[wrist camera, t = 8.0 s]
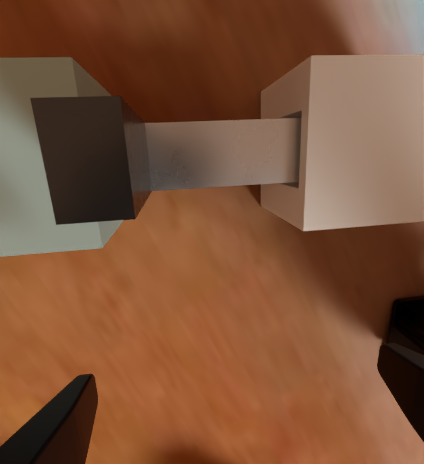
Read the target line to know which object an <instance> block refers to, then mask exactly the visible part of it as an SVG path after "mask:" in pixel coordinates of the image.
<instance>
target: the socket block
mask: <svg viewBox="0 0 424 464" xmlns="http://www.w3.org/2000/svg"><path fill="white" fill-rule="evenodd" d="M89 96H111V94H110V93H109V92H108V91H106V90H105V89H104V88H103V87H102V86H101V85H100V84H99V83H98V82H97V81H96V80H95V79H94V78H93V77H92V76H91V75H90V74H89V73H88V72H87V71H86V70H84V69H83V68H82V67H81V66H80V65H79V64H78V63H77V62H76V61H75V60H74V59H73V58H72V57H19V58H0V257H2V256H14V255H26V254H38V253H50V252H62V251H74V250H86V249H98V248H103V247H104V245H105V244H106V243H107V241H108V240H109V239H110V238H111V236H112V235H113V234H114V232H115V231H116V230H117V228H118V227H119V226H120V224H121V223H122V222H123V220H116V221H102V222H88V223H75V224H61V225H56V222H55V217H54V212H53V207H52V202H51V197H50V192H49V188H48V183H47V178H46V173H45V168H44V163H43V158H42V153H41V149H40V144H39V139H38V134H37V129H36V124H35V119H34V114H33V110H32V105H31V100H30V98H46V97H89Z"/></svg>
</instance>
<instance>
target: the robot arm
mask: <svg viewBox="0 0 424 464" xmlns="http://www.w3.org/2000/svg"><path fill="white" fill-rule="evenodd" d="M377 367H378V371H379V373H380V375H381V377H382V379H383V380H384V382H385V383H386V385H387V387H388V388H389V390H390V392H391V393H392V395H393V397H394V398H395V400H396V401H397V403H398V405H399V406H400V408H401V410H402V411H403V413H404V414H405V416H406V418H407V419H408V421H409V422H410V424H411V425H412V426H413V428H414V429H415V431H416V432H417V434H418V435H419V436H420V438H421V439H422V440H423V442H424V296H422V297H413V298H405V299H398V300H396V301H395V302H394V303H393V308H392V315H391V321H390V328H389V335H388V342H387V344H382V345H381V346H380V350H379V356H378V363H377ZM97 405H98V394H97V388H96V382H95V377H94V375H93V374H84V375H79V376H77V377H76V378H75V379H74V380H73V381H71V382H70V383H69V384H68V385H67V386H66V387H65V388H64V389H63V390H62V391H61V392H59V393H58V394H57V395H56V396H55V397H54V398H53V399H52V400H51V401H50V402H48V403H47V404H46V405H45V406H44V407H43V408H42V409H41V410H40V411H39V412H38V413H36V414H35V415H34V416H33V417H32V418H31V419H30V420H29V421H28V422H27V423H26V424H24V425H23V426H22V427H21V428H20V429H19V430H18V431H17V432H16V433H15V434H13V435H12V436H11V437H10V438H9V439H8V440H7V441H6V442H5V443H4V444H3V445H1V446H0V464H85V462H86V458H87V453H88V448H89V443H90V439H91V434H92V429H93V424H94V419H95V414H96V410H97Z"/></svg>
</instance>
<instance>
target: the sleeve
mask: <svg viewBox="0 0 424 464" xmlns="http://www.w3.org/2000/svg"><path fill="white" fill-rule="evenodd" d="M280 118H302V119H301V145H300V170H299V182H289V183H273V184H261V207H263V208H265V209H266V210H268V211H270V212H271V213H273V214H275V215H276V216H278V217H280V218H282V219H283V220H285V221H287V222H288V223H290V224H292V225H293V226H295V227H297V228H298V229H300V230H302V231H314V230H326V229H338V228H350V227H362V226H374V225H386V224H398V223H410V222H422V221H424V55H311V56H310V57H308V58H307V59H306V60H304V61H303V62H301V63H300V64H299V65H297V66H296V67H294V68H293V69H292V70H290V71H289V72H288V73H286V74H285V75H283V76H282V77H281V78H279V79H278V80H276V81H275V82H274V83H272V84H271V85H269V86H268V87H267V88H265V89H264V90H263V91H261V119H280Z"/></svg>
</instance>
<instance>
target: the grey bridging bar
mask: <svg viewBox="0 0 424 464" xmlns="http://www.w3.org/2000/svg"><path fill="white" fill-rule="evenodd" d="M30 100H31V105H32V110H33V114H34V119H35V124H36V129H37V134H38V139H39V144H40V149H41V153H42V158H43V163H44V168H45V173H46V178H47V183H48V188H49V192H50V197H51V202H52V207H53V212H54V217H55V222H56V225H61V224H75V223H88V222H102V221H116V220H130V219H136V217H137V215H138V214H139V212H140V210H141V209H142V207H143V205H144V204H145V202H146V200H147V199H148V197H149V195H150V193H151V192H152V191H159V190H175V189H192V188H208V187H224V186H240V185H256V184H273V183H289V182H299V170H300V145H301V119H302V118H280V119H250V120H221V121H192V122H163V123H144V122H143V120H142V119H141V118H140V117H139V116H138V115H137V114H136V113H135V112H134V111H133V109H132V108H131V107H130V106H129V105H128V104H127V103H126V102H125V101H124V100H123V99H122V97H121V96H89V97H46V98H30Z"/></svg>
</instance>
